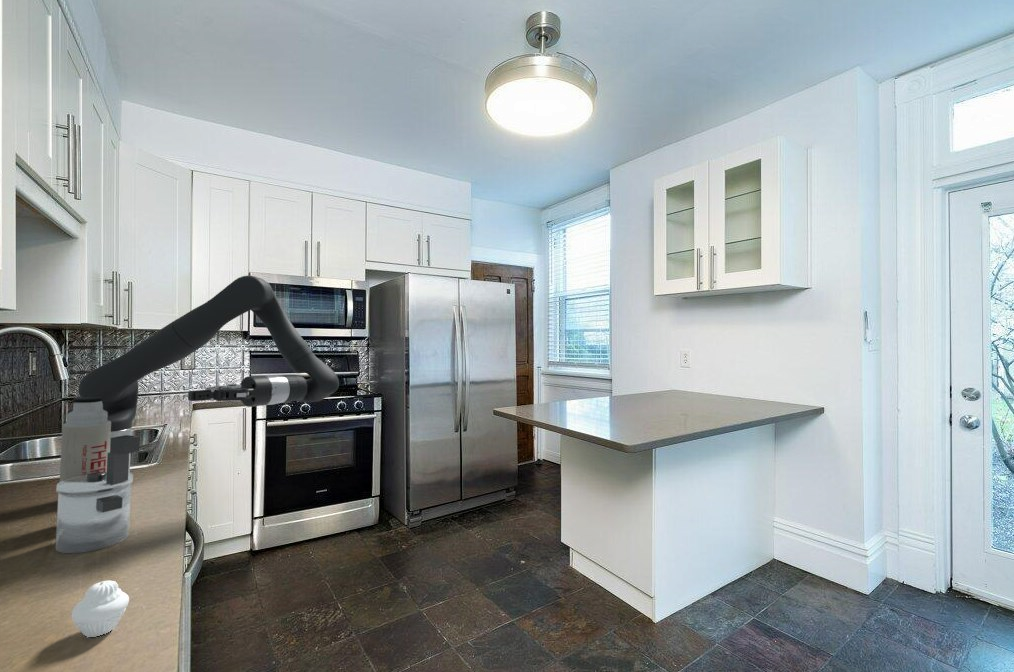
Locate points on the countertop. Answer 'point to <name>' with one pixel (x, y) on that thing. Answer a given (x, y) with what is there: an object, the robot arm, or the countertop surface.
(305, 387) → the robot arm
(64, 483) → the cooker lid
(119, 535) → the cooker pot
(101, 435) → the thermos bottle
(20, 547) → the countertop surface
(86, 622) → the muffin
